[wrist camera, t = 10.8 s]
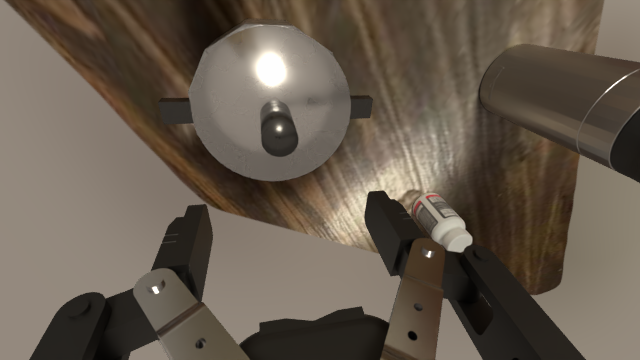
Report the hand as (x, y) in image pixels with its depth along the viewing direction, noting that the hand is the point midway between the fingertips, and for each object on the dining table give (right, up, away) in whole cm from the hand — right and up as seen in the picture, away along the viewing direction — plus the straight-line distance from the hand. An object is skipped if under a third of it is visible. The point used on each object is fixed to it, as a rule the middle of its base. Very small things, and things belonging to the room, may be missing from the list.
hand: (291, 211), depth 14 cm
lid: (-3, +9, +13) cm, 16 cm away
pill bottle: (+20, -3, +35) cm, 40 cm away
